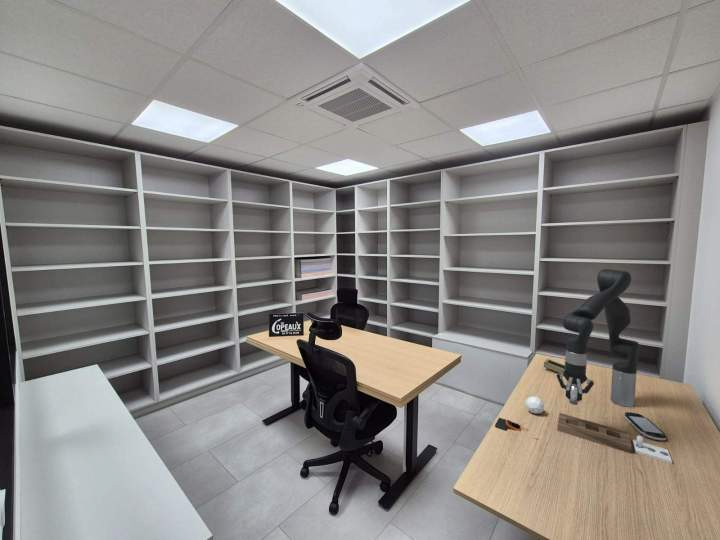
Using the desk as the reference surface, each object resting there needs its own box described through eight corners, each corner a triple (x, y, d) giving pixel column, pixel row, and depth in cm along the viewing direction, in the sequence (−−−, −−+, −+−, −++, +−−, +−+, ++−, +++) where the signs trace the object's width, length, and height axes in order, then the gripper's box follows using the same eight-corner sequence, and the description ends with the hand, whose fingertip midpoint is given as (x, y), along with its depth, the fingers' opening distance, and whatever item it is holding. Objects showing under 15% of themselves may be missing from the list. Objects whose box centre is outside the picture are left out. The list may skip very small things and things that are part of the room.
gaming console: (619, 415, 143) (620, 410, 143) (642, 418, 140) (643, 413, 140) (644, 440, 124) (645, 434, 124) (671, 444, 122) (672, 438, 122)
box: (545, 364, 198) (546, 358, 197) (586, 380, 183) (588, 373, 182) (541, 368, 192) (543, 362, 191) (584, 385, 177) (586, 378, 176)
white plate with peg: (632, 441, 123) (633, 430, 122) (667, 451, 117) (668, 439, 116) (635, 452, 116) (636, 440, 116) (671, 463, 110) (672, 451, 110)
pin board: (559, 418, 139) (559, 412, 139) (627, 438, 125) (628, 431, 125) (557, 430, 131) (557, 424, 130) (630, 453, 116) (631, 446, 116)
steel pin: (569, 400, 133) (570, 383, 132) (577, 402, 131) (578, 385, 130) (568, 403, 131) (569, 385, 130) (577, 405, 129) (578, 388, 128)
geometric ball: (532, 419, 144) (524, 408, 142) (529, 405, 151) (521, 394, 149) (549, 415, 140) (541, 404, 139) (544, 402, 147) (537, 390, 145)
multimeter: (545, 431, 131) (545, 424, 130) (539, 445, 122) (539, 437, 122) (501, 416, 143) (501, 409, 142) (493, 427, 134) (493, 420, 134)
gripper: (595, 362, 128) (593, 400, 129) (556, 355, 137) (555, 391, 138) (596, 368, 122) (594, 408, 124) (555, 360, 131) (553, 398, 132)
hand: (573, 399), depth 131 cm, fingers closed on steel pin, 3 cm apart
